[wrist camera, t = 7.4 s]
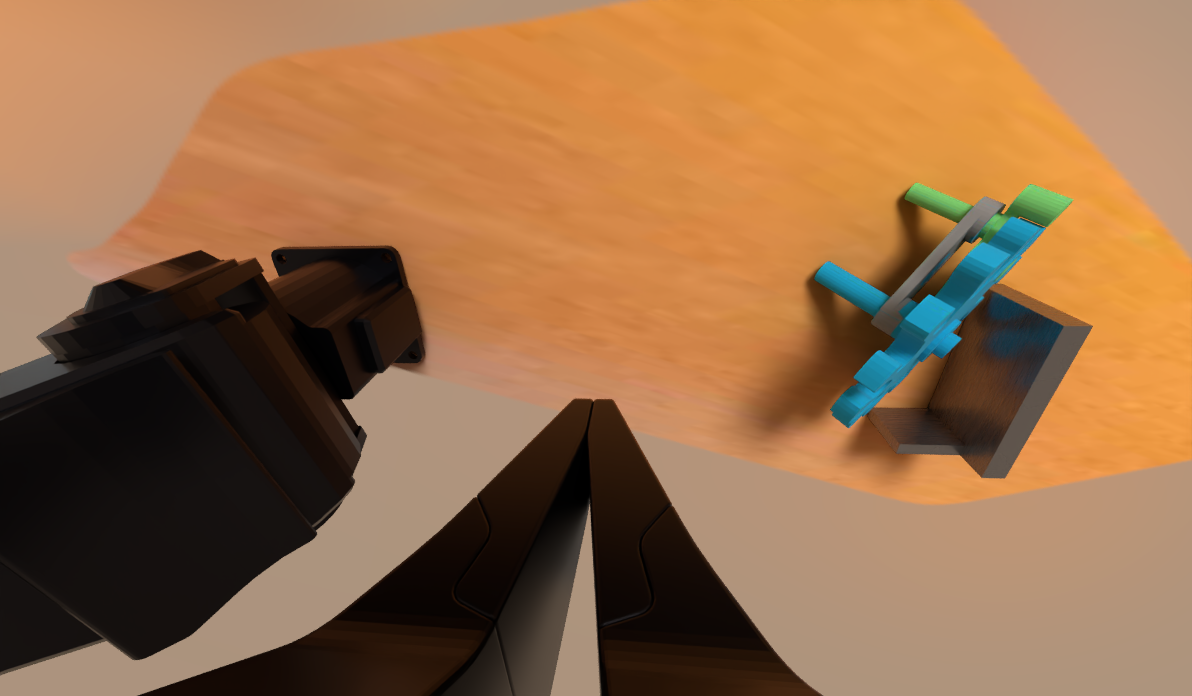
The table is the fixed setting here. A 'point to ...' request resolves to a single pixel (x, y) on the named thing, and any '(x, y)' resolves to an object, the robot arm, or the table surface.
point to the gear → (939, 316)
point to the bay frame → (990, 384)
